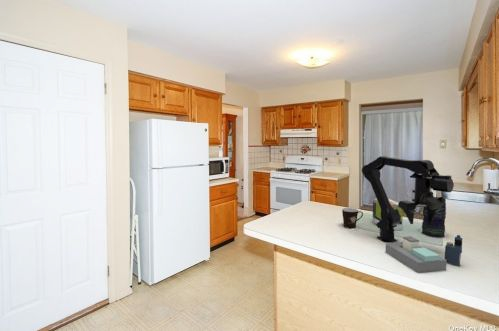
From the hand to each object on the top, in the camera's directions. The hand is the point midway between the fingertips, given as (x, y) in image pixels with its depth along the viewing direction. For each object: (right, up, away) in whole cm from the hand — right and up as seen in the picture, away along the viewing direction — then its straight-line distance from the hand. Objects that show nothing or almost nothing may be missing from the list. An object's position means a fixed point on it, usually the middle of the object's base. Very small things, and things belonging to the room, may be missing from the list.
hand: (420, 223), depth 112 cm
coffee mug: (-17, -10, +33) cm, 39 cm away
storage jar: (+20, -11, +20) cm, 30 cm away
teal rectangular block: (-8, -10, -14) cm, 19 cm away
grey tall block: (-9, -13, -6) cm, 17 cm away
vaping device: (+5, -14, -11) cm, 18 cm away
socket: (-9, -14, -8) cm, 18 cm away
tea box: (+3, -10, +34) cm, 35 cm away
